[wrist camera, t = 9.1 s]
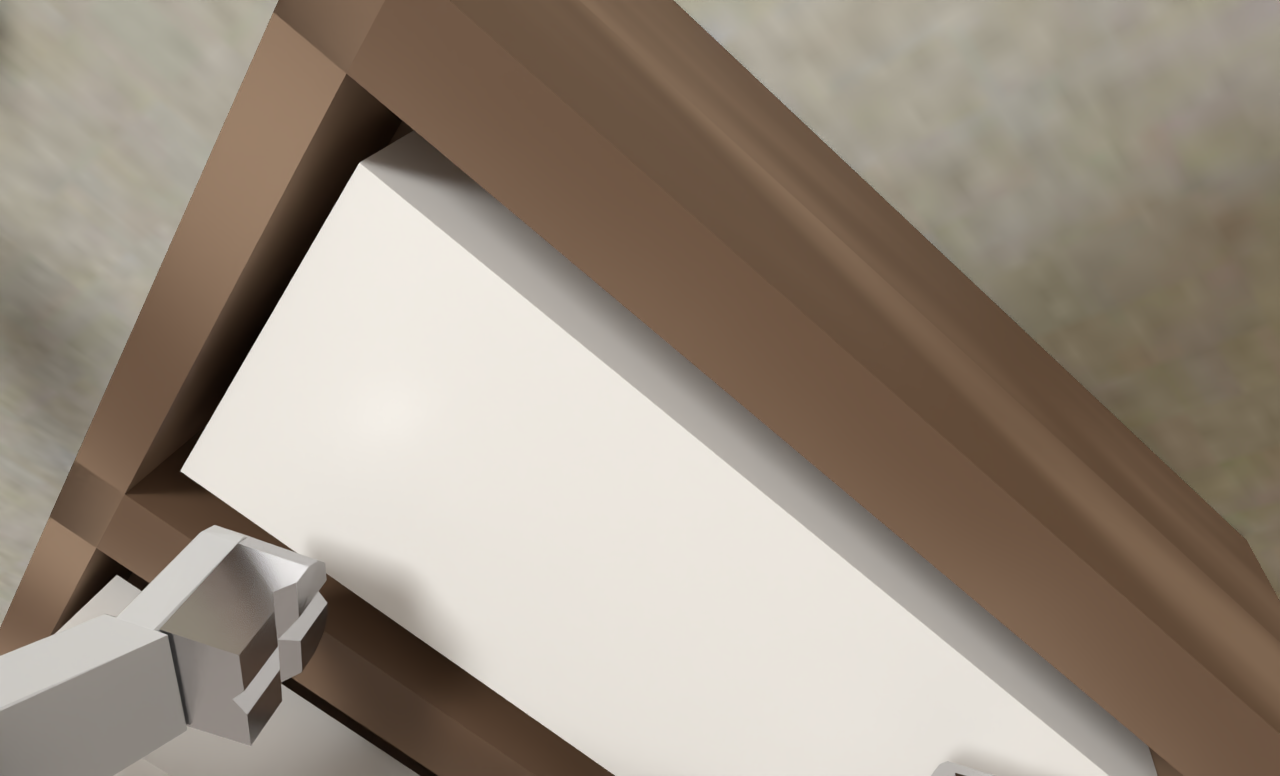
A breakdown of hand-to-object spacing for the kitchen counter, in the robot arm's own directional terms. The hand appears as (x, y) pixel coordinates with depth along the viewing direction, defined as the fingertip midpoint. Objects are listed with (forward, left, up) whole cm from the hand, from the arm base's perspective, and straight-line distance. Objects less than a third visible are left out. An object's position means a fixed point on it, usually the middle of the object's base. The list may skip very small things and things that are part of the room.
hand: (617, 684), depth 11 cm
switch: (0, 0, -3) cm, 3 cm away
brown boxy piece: (-9, 0, -6) cm, 11 cm away
